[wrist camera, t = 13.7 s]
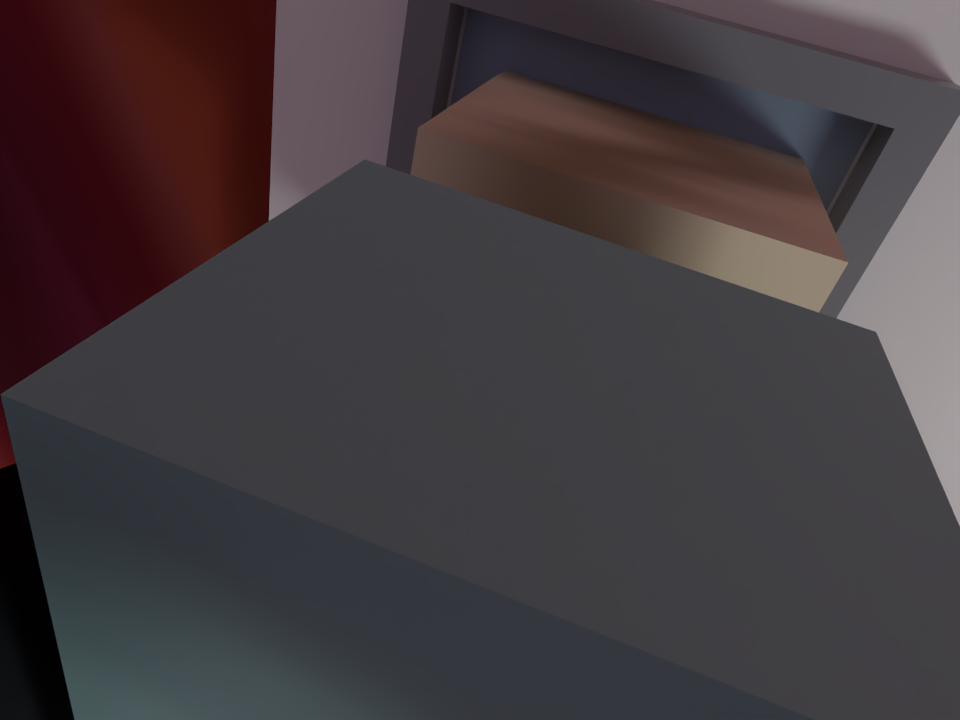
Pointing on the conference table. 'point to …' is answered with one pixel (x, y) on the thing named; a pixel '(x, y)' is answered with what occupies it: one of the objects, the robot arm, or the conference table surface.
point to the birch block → (638, 184)
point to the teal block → (482, 486)
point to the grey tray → (693, 101)
